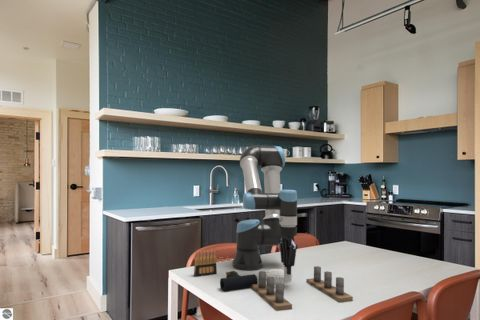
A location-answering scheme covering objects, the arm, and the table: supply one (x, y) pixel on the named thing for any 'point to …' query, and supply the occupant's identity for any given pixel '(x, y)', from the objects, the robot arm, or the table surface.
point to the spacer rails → (278, 298)
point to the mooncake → (277, 275)
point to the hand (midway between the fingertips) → (287, 281)
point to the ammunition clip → (205, 264)
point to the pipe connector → (237, 281)
